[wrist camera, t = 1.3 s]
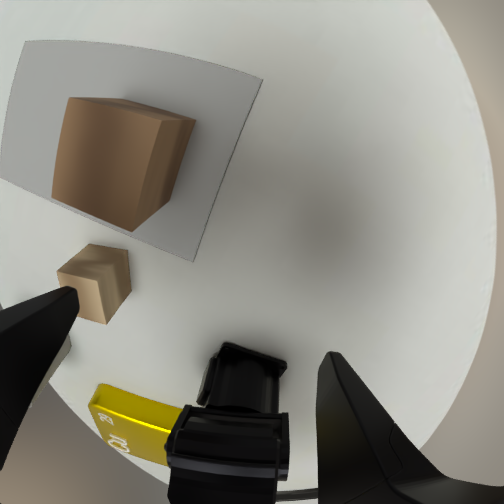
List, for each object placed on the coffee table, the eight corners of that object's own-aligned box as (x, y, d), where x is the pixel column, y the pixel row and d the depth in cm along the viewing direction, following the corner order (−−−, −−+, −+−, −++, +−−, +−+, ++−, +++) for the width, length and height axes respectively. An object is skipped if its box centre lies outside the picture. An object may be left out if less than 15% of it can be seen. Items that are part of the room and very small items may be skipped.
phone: (335, 495, 46) (272, 501, 49) (334, 492, 47) (272, 498, 50) (333, 488, 43) (264, 494, 45) (333, 484, 44) (264, 490, 46)
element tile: (196, 452, 39) (191, 475, 34) (113, 426, 38) (104, 447, 34) (203, 411, 32) (196, 442, 28) (97, 377, 32) (82, 403, 27)
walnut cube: (196, 119, 17) (161, 120, 12) (170, 200, 20) (131, 232, 14) (121, 98, 17) (68, 97, 11) (101, 175, 19) (51, 197, 14)
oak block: (127, 249, 22) (97, 280, 18) (131, 290, 24) (106, 325, 20) (89, 243, 22) (56, 271, 18) (95, 282, 24) (67, 313, 20)
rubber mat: (262, 80, 16) (262, 79, 16) (193, 260, 22) (192, 262, 22) (27, 41, 14) (25, 41, 14) (0, 176, 20) (-2, 176, 20)
